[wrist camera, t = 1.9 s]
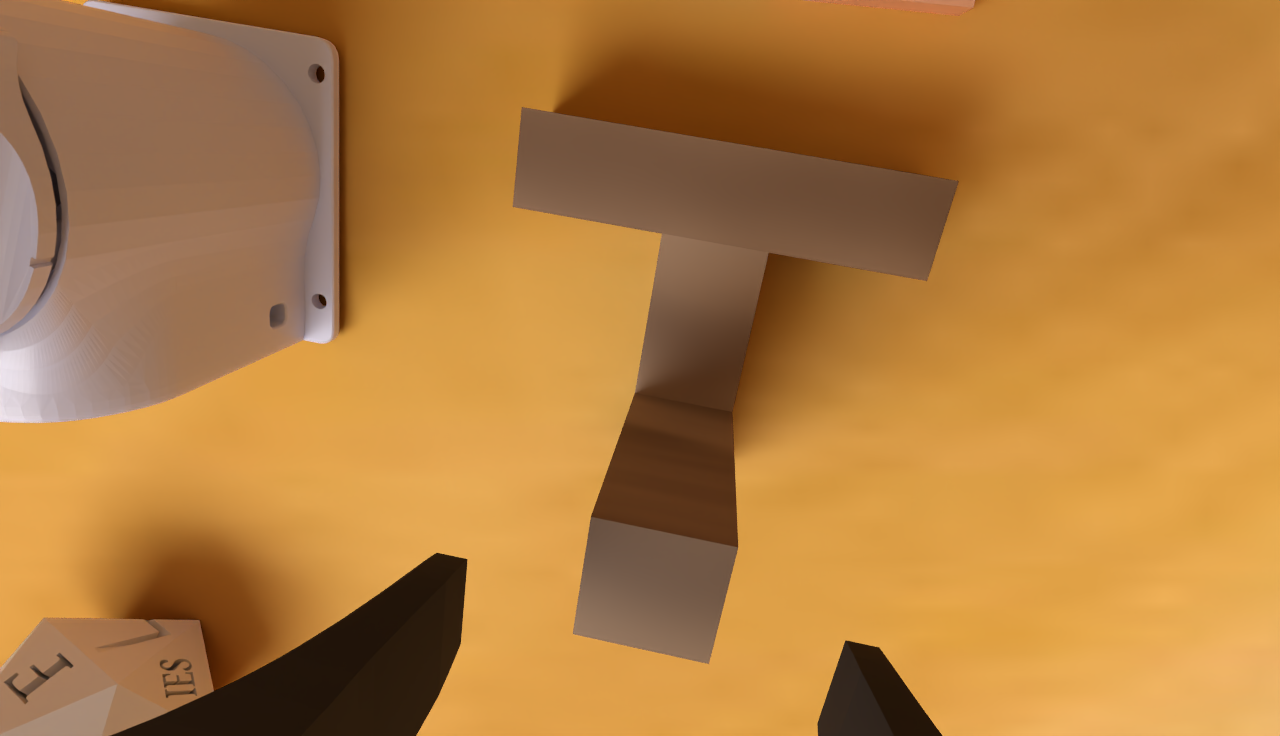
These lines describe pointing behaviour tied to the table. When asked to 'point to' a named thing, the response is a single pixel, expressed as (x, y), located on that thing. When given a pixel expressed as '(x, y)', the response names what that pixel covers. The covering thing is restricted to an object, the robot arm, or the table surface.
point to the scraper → (701, 337)
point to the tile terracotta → (913, 5)
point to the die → (101, 675)
